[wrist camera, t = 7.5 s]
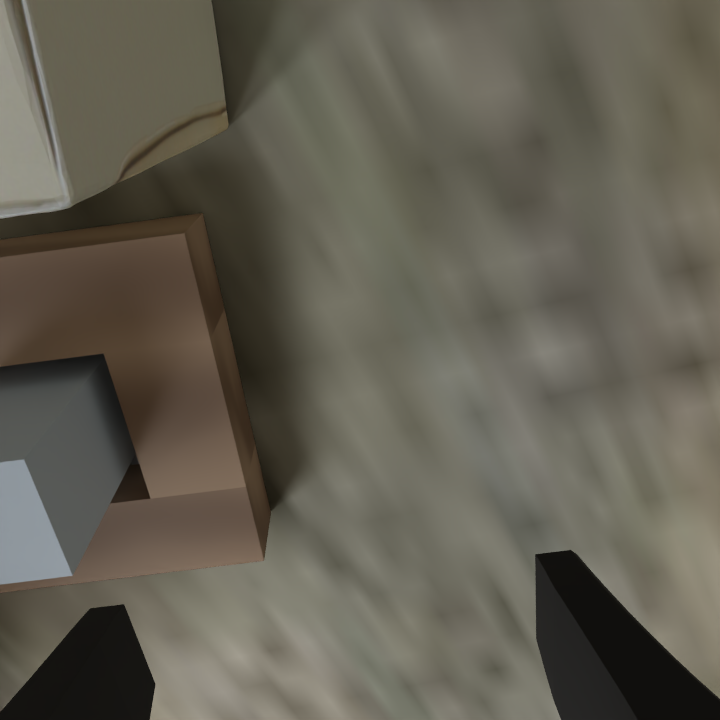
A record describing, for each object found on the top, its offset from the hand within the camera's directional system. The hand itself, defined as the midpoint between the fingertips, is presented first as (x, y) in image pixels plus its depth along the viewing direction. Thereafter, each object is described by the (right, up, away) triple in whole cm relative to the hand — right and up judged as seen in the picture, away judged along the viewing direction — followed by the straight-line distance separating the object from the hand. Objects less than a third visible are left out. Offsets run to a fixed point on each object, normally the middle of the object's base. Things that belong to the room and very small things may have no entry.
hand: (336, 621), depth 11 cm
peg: (-9, +3, +9) cm, 13 cm away
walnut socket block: (-9, +3, +10) cm, 14 cm away
